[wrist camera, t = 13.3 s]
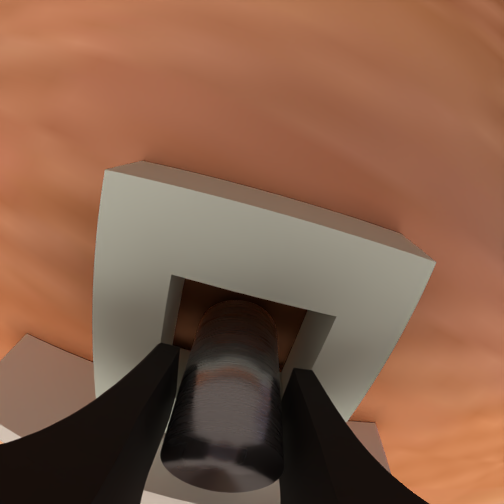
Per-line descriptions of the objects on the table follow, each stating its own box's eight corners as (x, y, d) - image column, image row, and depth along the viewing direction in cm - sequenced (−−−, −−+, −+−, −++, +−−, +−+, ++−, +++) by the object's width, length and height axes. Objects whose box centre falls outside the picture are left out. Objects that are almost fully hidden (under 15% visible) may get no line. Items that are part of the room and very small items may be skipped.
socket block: (400, 233, 11) (436, 262, 9) (311, 414, 15) (318, 459, 12) (142, 160, 11) (104, 169, 8) (119, 368, 14) (96, 409, 11)
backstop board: (375, 422, 15) (400, 509, 9) (359, 443, 16) (378, 526, 10) (26, 333, 14) (-34, 400, 8) (31, 359, 15) (-22, 425, 9)
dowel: (285, 308, 12) (299, 442, 6) (267, 369, 13) (267, 497, 7) (203, 292, 11) (159, 420, 6) (194, 355, 12) (160, 480, 7)
